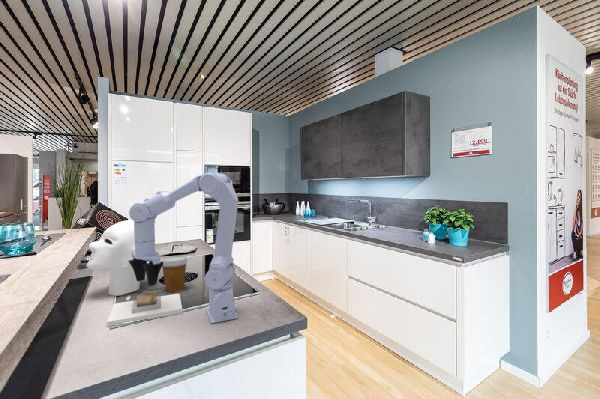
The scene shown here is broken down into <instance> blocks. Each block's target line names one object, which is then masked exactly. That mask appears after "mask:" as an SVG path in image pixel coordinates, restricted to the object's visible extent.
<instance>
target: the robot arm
mask: <svg viewBox="0 0 600 399" xmlns="http://www.w3.org/2000/svg"><path fill="white" fill-rule="evenodd" d="M196 192H203V193H204V194H206V195H208V196H209V197H211V198H212V199H214V200H215V202H216V203H218V205H219V212H218V219H217V220H218V221H217V228H216V236H215V244H214V252H213V257H212V259H211V261H210V264H209V269H208V271H207V272H206V274H205V277H204V281H205V284H206V286H207V287H208V299H209V300H208V303H209V304H208V307H209V308H208V309H206V314H207V316H208V319H209V322H210V323H211V324H215V323H221V322H225V321H230V320H235V319H238V318H239V315H238V314H237V312H236V308H235V304H236V303H235V296H234V285H233V284H234V282H233V278H234V276H235V273H236V269H235V266H234V261H235V260H234V257H233V256H232V254H233V253H232V252H233V246H234V239H235V238H234V237H235V229H236V223H237V216H238V215H237V214H238V205H239V197H238V195H237V193H236V191H235V188H234V186H233V181H232V179H230V177H228V175H226V174H224V173H221V172H220V173H219V172H218V173H217V172H216V173H215V172H211V171H209V172H204V173H203V174H201V175H198V176H195V177H193V178H192V179H191V180H188V181H187V182H185V183H184V184H183V183H182V185H181V186H179V187H177V188H175V189H174V190H172V191H170V192H169V191H162V190H159V191H157V192H156V195H153V196H152V197H150V198H144V200H143V202H141V203H140V202H135V203H134V204H132V205H131V207H130V208H129V211H128V213H129V214H128V215H129V218H130V220H133V221H134V238H135V251H134V252H132V258H134V259H133V260H129V263H130V265H131V266H132V268H133V270H134V273H135V277H136V280H137V281H140V282H141V281H144V280H145V278H146V280H147V285H148V286H149V287H152V286H156V285H157V283H158V278H159V275H160V271H161V270H162V269H163V268H162V266H163V262H162V259H161V256H160V255H159V254H160V252H159V251H156V234H155V232H156V230H155V229H156V228H155V224H156V218H157V217H158V216H159V215H160V214H163V213H165V212H167V211H169V210H171V209H172V208H174V207H175V206H176V202H177V201H179V200H182V199H184V198H186V197H188V196H190V195H193V194H195V193H196Z"/></svg>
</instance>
